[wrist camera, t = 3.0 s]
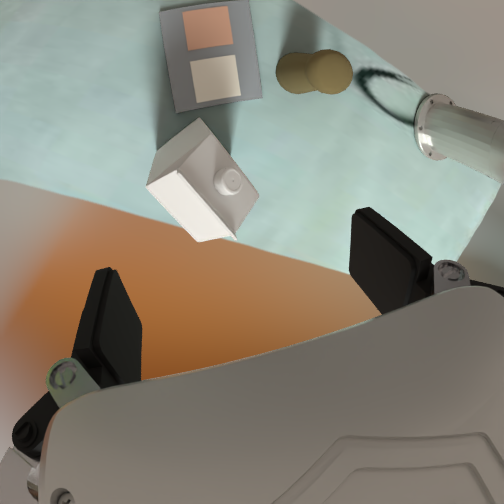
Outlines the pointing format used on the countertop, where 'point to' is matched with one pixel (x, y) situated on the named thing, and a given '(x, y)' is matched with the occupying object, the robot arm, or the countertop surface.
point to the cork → (314, 72)
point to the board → (210, 54)
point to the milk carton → (201, 184)
